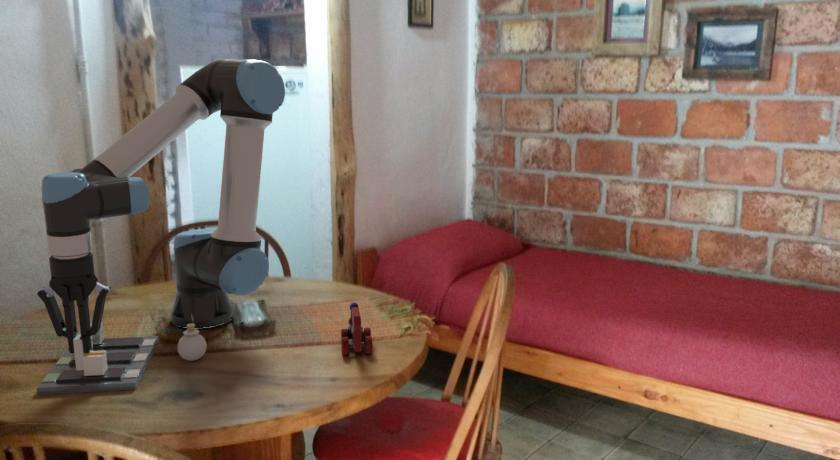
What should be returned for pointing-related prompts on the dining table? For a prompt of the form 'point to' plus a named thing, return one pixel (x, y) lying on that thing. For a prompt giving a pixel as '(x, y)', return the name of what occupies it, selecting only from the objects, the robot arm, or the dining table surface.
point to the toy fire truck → (356, 334)
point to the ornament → (191, 344)
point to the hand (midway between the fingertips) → (82, 367)
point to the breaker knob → (95, 363)
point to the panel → (122, 363)
